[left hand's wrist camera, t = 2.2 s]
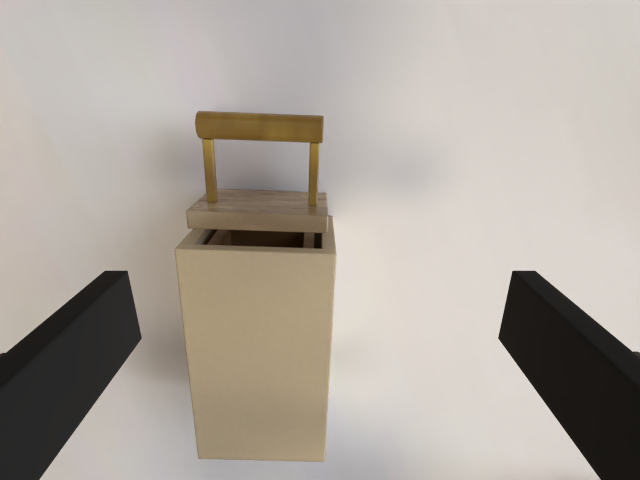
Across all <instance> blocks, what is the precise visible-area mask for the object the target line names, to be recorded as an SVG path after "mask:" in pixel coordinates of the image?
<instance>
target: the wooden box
mask: <svg viewBox="0 0 640 480" xmlns="http://www.w3.org/2000/svg"><path fill="white" fill-rule="evenodd" d="M217 230H218V229H193V230H192V231H191V232H190V233H189V234H188V235H187V236H186V237H185V239H184V240H183V241H182V242H181V243H180V244H179V245H178V246H177V247H176V248H175V256H176V265H177V273H178V282H179V291H180V300H181V309H182V318H183V326H184V335H185V344H186V353H187V362H188V371H189V380H190V388H191V397H192V406H193V415H194V424H195V433H196V441H197V450H198V458H199V459H232V460H272V461H313V462H324V461H325V446H326V429H327V411H328V394H329V377H330V359H331V342H332V325H333V307H334V290H335V273H336V245H335V236H334V227H333V217H332V216H328V232H327V233H315V239H314V248H285V247H255V246H225V245H207V244H208V242H209V241H210V240H211V238H212V237H213V236H214V234H215V233H216V232H217Z"/></svg>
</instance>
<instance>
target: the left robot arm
mask: <svg viewBox="0 0 640 480" xmlns="http://www.w3.org/2000/svg"><path fill="white" fill-rule="evenodd" d="M141 338H142V337H141V333H140V328H139V323H138V318H137V314H136V309H135V304H134V300H133V295H132V290H131V285H130V281H129V276H128V271H104V272H103V273H102V274H101V275H99V276H98V277H97V278H96V279H95V280H93V281H92V282H91V283H90V284H89V285H87V286H86V287H85V288H84V289H83V290H81V291H80V292H79V293H78V294H76V295H75V296H74V297H73V298H72V299H70V300H69V301H68V302H67V303H66V304H64V305H63V306H62V307H61V308H60V309H58V310H57V311H56V312H55V313H54V314H52V315H51V316H50V317H49V318H48V319H46V320H45V321H44V322H43V323H42V324H40V325H39V326H38V327H37V328H36V329H34V330H33V331H32V332H31V333H30V334H28V335H27V336H26V337H25V338H24V339H22V340H21V341H20V342H19V343H17V344H16V345H15V346H14V347H13V348H11V349H10V350H9V351H8V352H7V353H2V354H0V480H39V479H40V478H41V476H42V475H43V474H44V472H45V471H46V470H47V468H48V467H49V465H50V464H51V463H52V461H53V460H54V458H55V457H56V456H57V454H58V453H59V452H60V450H61V449H62V447H63V446H64V445H65V443H66V442H67V441H68V439H69V438H70V436H71V435H72V434H73V432H74V431H75V430H76V428H77V427H78V425H79V424H80V423H81V421H82V420H83V418H84V417H85V416H86V414H87V413H88V412H89V410H90V409H91V407H92V406H93V405H94V403H95V402H96V401H97V399H98V398H99V396H100V395H101V394H102V392H103V391H104V390H105V388H106V387H107V385H108V384H109V383H110V381H111V380H112V378H113V377H114V376H115V374H116V373H117V372H118V370H119V369H120V367H121V366H122V365H123V363H124V362H125V361H126V359H127V358H128V356H129V355H130V354H131V352H132V351H133V350H134V348H135V347H136V345H137V344H138V343H139V341H140V340H141ZM498 338H499V340H500V341H501V343H502V344H503V345H504V347H505V348H506V350H507V351H508V352H509V354H510V355H511V356H512V358H513V359H514V361H515V362H516V363H517V365H518V366H519V367H520V369H521V370H522V372H523V373H524V374H525V376H526V377H527V378H528V380H529V381H530V383H531V384H532V385H533V387H534V388H535V390H536V391H537V392H538V394H539V395H540V396H541V398H542V399H543V401H544V402H545V403H546V405H547V406H548V407H549V409H550V410H551V412H552V413H553V414H554V416H555V417H556V418H557V420H558V421H559V423H560V424H561V425H562V427H563V428H564V430H565V431H566V432H567V434H568V435H569V436H570V438H571V439H572V441H573V442H574V443H575V445H576V446H577V447H578V449H579V450H580V452H581V453H582V454H583V456H584V457H585V458H586V460H587V461H588V463H589V464H590V465H591V467H592V468H593V470H594V471H595V472H596V474H597V475H598V476H599V478H600V479H601V480H640V353H639V352H632V351H631V350H630V349H629V348H627V347H626V346H625V345H624V344H623V343H621V342H620V341H619V340H618V339H616V338H615V337H614V336H613V335H612V334H610V333H609V332H608V331H607V330H606V329H604V328H603V327H602V326H601V325H600V324H598V323H597V322H596V321H595V320H594V319H592V318H591V317H590V316H589V315H588V314H586V313H585V312H584V311H583V310H582V309H580V308H579V307H578V306H577V305H576V304H574V303H573V302H572V301H571V300H570V299H568V298H567V297H566V296H565V295H564V294H562V293H561V292H560V291H559V290H557V289H556V288H555V287H554V286H553V285H551V284H550V283H549V282H548V281H547V280H545V279H544V278H543V277H542V276H541V275H539V274H538V273H537V272H536V271H512V276H511V281H510V285H509V290H508V295H507V300H506V304H505V309H504V314H503V318H502V323H501V328H500V333H499V337H498Z"/></svg>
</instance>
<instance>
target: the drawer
mask: <svg viewBox="0 0 640 480" xmlns="http://www.w3.org/2000/svg"><path fill="white" fill-rule="evenodd" d="M195 125H196V132H197V135H198V137H199V138H201V139H203V140H202V141H203V154H204V167H205V181H206V194H205V195H204V196H203V197H202V198H201V199H200V200H198V201H197V202H196V203H195V204H194V205H193V206H192V207H190V208H189V209H188V210H187V211H186V214H187V224H188V228H191V229H218V230H217V232H216V233H215V234H214V236H213V237H212V238H211V240H210V241H209V242H208V244H207V245H225V246H255V247H285V248H314V239H315V233H327V232H328V207H327V194H326V193H318V166H319V143H322V141H323V116H315V115H289V114H263V113H238V112H212V111H198V112H197V114H196V119H195ZM214 139H227V140H253V141H280V142H306V143H310V161H309V192H290V191H262V190H234V189H217V181H216V166H215V150H214Z"/></svg>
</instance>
